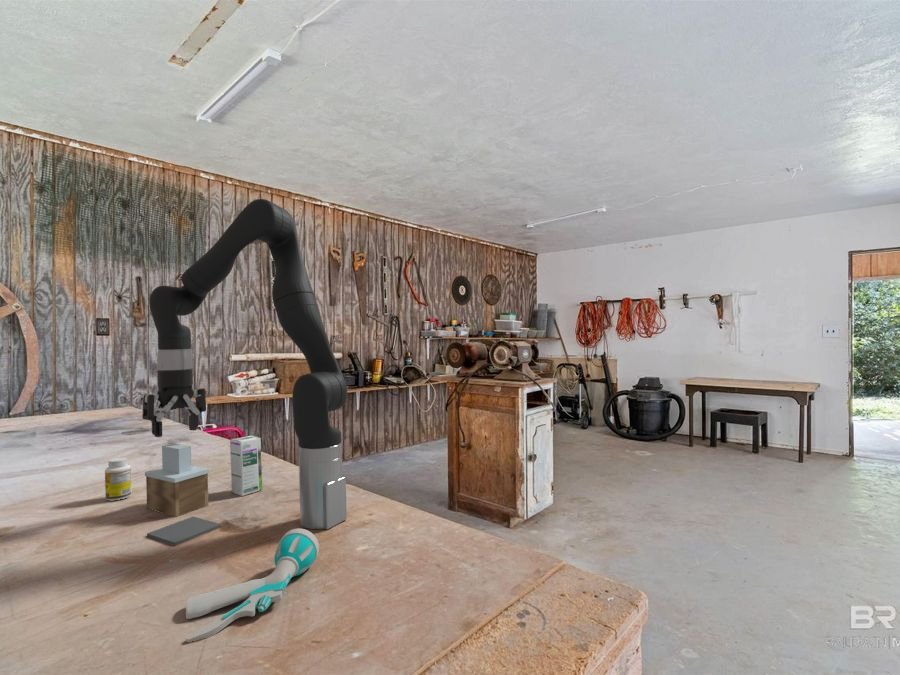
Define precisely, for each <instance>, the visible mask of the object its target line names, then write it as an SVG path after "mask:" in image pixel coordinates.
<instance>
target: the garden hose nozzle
mask: <svg viewBox="0 0 900 675" xmlns="http://www.w3.org/2000/svg"><path fill="white" fill-rule="evenodd" d="M319 551H320V543H319V541H318V538H317V537H316V536H315V534H314V533H312V532H311V531H309V529H308V530H307V529H304V528H292V529H290V530H288V531H287V532H286V533H285V534H284V535H283V536H282V537H281V539H280V540H279V541H278V544H277V547H276V550H275V553H274V565H275V567H274V570H273V571H272V572H271V573H270V574H269V575H267V576H265V577H263V578H258V579H257V578H256V579H250V580H248V581H246V582H239V583H237V584H234V585H232V586H229V587H226V588H218V589H216V590H213V591H211V592H206V593H200V594H196V595H193V596H190V597H188V598H187V600H186V605H185V617H186V619H187V620H188V619H189V620H191V619H197V618H199V617H203V616H205V615H207V614H210V613H212V612H214V611H216V610H219V609H222V608H224V607H226V606H230V605H233V604H235V603H238V602H240V601H243V600H244V601H243V602H242V603H241V604H239V605H238V606H236V607H235V608H233V609H231V610H229V611H228V612H226V613H224V614H222V615H221V616H219V617H217V618H216V619H214V620H213V621H211V622H210V623H207V624H206V625H204V626H202V627H201V628H198V629H196V630H195V631H194V632H192V633H191V634H189V635H186V637H185V641H186V642H185V643H187V642H190V643H193V642H192V641H194V642H196V641H195V640H198V639H201V640H203V638H205V639H208V638H210V637H212V636H215V634H216V635H217V633H219V632H221V631H222V630H223V629H225V628H226V627H227V626H228V625H229V624H231V623H232V622H234V621H235V620H237V619H239V618H242V617H255V615H256V610H258V612H259V613H262V612H266V611H267V609H268V608H269V607H270V606H271V604H272V603H274V602H278V601H280V600H282V599H283V596H284V595H285V589H286V588H287V586H288V584H289V582H290V581H291V579H292V578H293V577H298V576H300V575H302V574H304V573H305V571H307V570H308V569H309V568H310V567H311V566H312V565H313V564H314V563H315V561H316V560H317V558H318V555H319ZM198 641H199V640H198Z"/></svg>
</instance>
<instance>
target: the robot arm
mask: <svg viewBox="0 0 900 675" xmlns="http://www.w3.org/2000/svg"><path fill="white" fill-rule="evenodd" d="M256 240H258V241H260V242H261V241H262V242H263V243H266V246H268V249H269V252H270V254H271V257H272V260H273V264H274V270H275V271H274V277H273V282H272V288H271V290H272V291H271V297H272V302H273V305H274V310H275V313H276V316H277V319H278V322H279V324H280V326H281V328H282V329H283V331H284V332H285V333H286V335H287V336H288V337H289V338H290V339H291V341H292V342H293V343H294V344H295V345H296V347H297V349H299V350H300V351H301V353H302V354H303V356H304V358H305V360H306V363H307V365H308V368H309V371H310V373H309V372H308V373H305V374H303V375H301V376H299V377H298V378H297V379H296V381H295V383H294V385H293V389H292V397H291V398H292V399H291V400H292V412H293V414H292V415H293V424H294V425H293V426H294V432H295V434H296V437H297V439H298V440H297V441H298V470H299V471H298V473H299V474H298V475H299V478H298V479H299V481H298V482H299V514H300V515H299V516H300V518H299V519H300V521H299V523H300V526H301V527H303V528H306V529H308V530H309V529H311V530H313V529H314V530H319V529H320V530H321V529H325V530H328V529H331V528H333V527H334V526H336V525H338V524H340V523H342V522H344V521H345V520H347V519H348V517H347V479H346V476H343V454H342V453H343V450H342V449H343V448H342V445H343V444H342V431H341V430H340V429H339V428H336V427H333V426H332V425H331V423H330V418H329V412H333V411H337V410H339V409H341V408H343V406H344V405H345V403H346V401H347V397H348V387H347V382H346V379H345V377H344V375H343V372H342V370H341V367H340V365H339V363H338V360H337V359H336V356H335V353H334V351H333V349H332V346H331V343H330V341H329V338H328V335H327V332H326V328H325V326H324V322H323V320H322V317H321V314H320V313H321V312H320V309H319V306H318V303H317V299H316V296H315V293H314V290H313V287H312V284H311V282H310V278H309V274H308V271H307V268H306V265H305V263H304V258H303V255H302V251H301V246H300V241H299V236H298V230H297V226H296V221H295V220H294V217H293V215H292V214H291V213H290V212H289V211H287V210H286V209H285V208H283V207H281V206H280V205H277V204H276V203H274V202H272V201H270V200H268V199H265V198H257V199H255V200H252V201H251V202H249V203H248V204H247V205H246V206H245V207H244V208H243V209H242V210H241V212H239V214H238V215H237V217H235V219H234V220H233V221H232V222H231V224H230V225H229V226H228V228H227V229H226V230H225V231H224V232H223V233H222V234H221V236H220V237H219V238H218V239H217V241H216V242H215V243H214V244H213V245H212V247H211V248H210V249H208V251H206V252H205V253H204V254H203V255H202V256H201V257H200V258H199V259H198V260H197V261H195V262H193V264H192V265H190V266H189V267H188V268H187V269H186V270H185V271H183V273H182V274H181V277H180V278H181V283H182V286H181V287H177V286H170V285H159V286H157V287H155V288H154V289H153V290H152V292H151V293H150V295H149V299H148V304H149V306H148V307H149V310H150V314H151V317H152V321H153V323H154V327H155V329H156V332H157V357H156V373H157V374H156V378H157V379H156V380H157V384H156V386H157V393H155V394H150V393H145V394H144V395H143V396H142V397H143V398H142V416H141V417H142V419H143V420H147V421H150V422H151V433H152V434H151V435H152V436H154V437H155V438H161V437H163V421H162V420H163V418H164V417H165V415H166V414H168V413H169V411H170V410H177V409H185V410H186V411H187V412H188V414H189V415H188V429H189V431H193V432H194V431H197V430H198V427H199V426H200V424H199V416H200V414H201V413H203V412H204V413H205V412H206V411H207V400H206V398H207V397H206V390H205V389H204V388H202V387H201V388H199V387H198V388H197V387H196V388H195V389H193V384H194V371H193V370H194V369H193V368H194V367H193V366H194V365H193V363H194V362H193V360H194V359H193V354H192V353H193V352H192V334H191V333H192V332H191V328H190V327H189V326H186V325H184V324H181V322H180V319H179V316H182V317H185V316H188V315H190V314H192V313H194V312H196V311H197V310H198V309H199V307H200V306H201V305H202V303H203V302H204V301H205V299H206V297H207V295H208V293H211V291H212V290H213V289H215V288H216V287H218V285H220V284H221V283H222V282H223V281H225V279H226V278H227V277H228V276H229V275H230V273H231V272H232V270H233V268H234V265H235V262H236V260H237V259H238V256H239V255H240V253H241V252H242V251H243V250H244V249H245V248H246V247H248V245H250V244H253V242H256ZM192 398H195V403H194V402H193V401H192ZM157 401H158V402H159V403H158V404H157V406H156V407H155V403H156V402H157Z"/></svg>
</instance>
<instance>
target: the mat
mask: <svg viewBox="0 0 900 675" xmlns="http://www.w3.org/2000/svg"><path fill="white" fill-rule="evenodd" d="M221 527H222V524H221V523H219V522H216V521H215V522H214V521H211V520H208V519H204V518H201V517H197V516H191V517H188V518H187V517H186V518H185V519H183V520H179V521H177V522H175V523H171V524H168V525H166V526H164V527H160V528H157V529H155V530H152V531H150V532H146V537H148V538H150V539H153V540H157V541H160V542H163V543H166V544H169V545H171V546H178V545H181V544H183V543H185V542H187V541H190V540H193V539H195V538H197V537H200V536H203V535H205V534H208V533H210V532H212V531H214V530H217V529H219V528H221Z"/></svg>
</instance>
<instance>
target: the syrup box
mask: <svg viewBox="0 0 900 675" xmlns="http://www.w3.org/2000/svg"><path fill="white" fill-rule="evenodd" d="M261 439H262V438H261V437H259V436H256V435H248V436H243V437H238V438H232V439H231V438H230V440H229V451H230V452H229V454H230V476H231V478H230V479H231V480H230V481H231V483H230V484H231V493H233V494H236V496H237V495H238V496H240V497H244V496H247V495H249V494H250V495H251V494H253V493H257V491H258V492H261V491H262V490H263V476H262V474H263V472H262V471H263V469H262V441H261ZM260 490H261V491H260Z"/></svg>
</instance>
